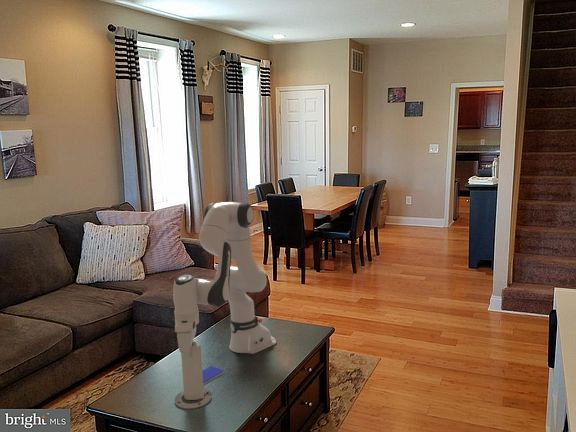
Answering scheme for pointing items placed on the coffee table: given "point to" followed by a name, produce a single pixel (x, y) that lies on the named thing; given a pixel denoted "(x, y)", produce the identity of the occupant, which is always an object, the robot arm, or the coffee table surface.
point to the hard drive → (211, 373)
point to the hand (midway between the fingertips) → (189, 353)
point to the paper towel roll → (193, 374)
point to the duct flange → (192, 401)
